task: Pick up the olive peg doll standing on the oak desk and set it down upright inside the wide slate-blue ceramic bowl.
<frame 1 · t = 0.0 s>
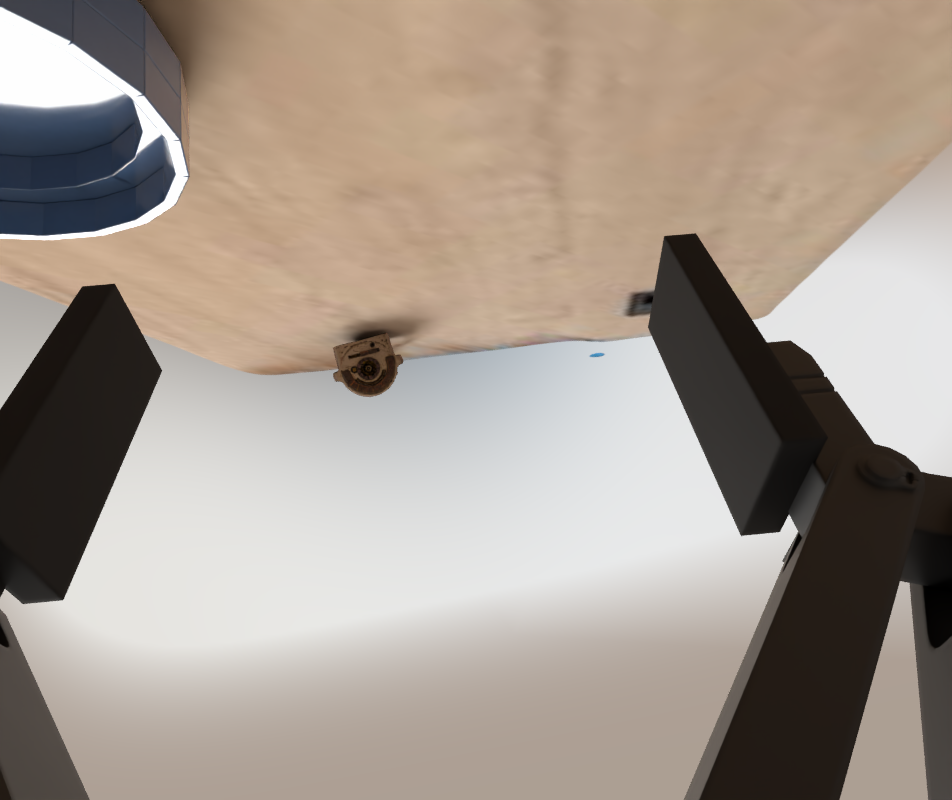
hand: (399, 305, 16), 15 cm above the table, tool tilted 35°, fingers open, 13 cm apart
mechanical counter: (362, 343, 75), on the table
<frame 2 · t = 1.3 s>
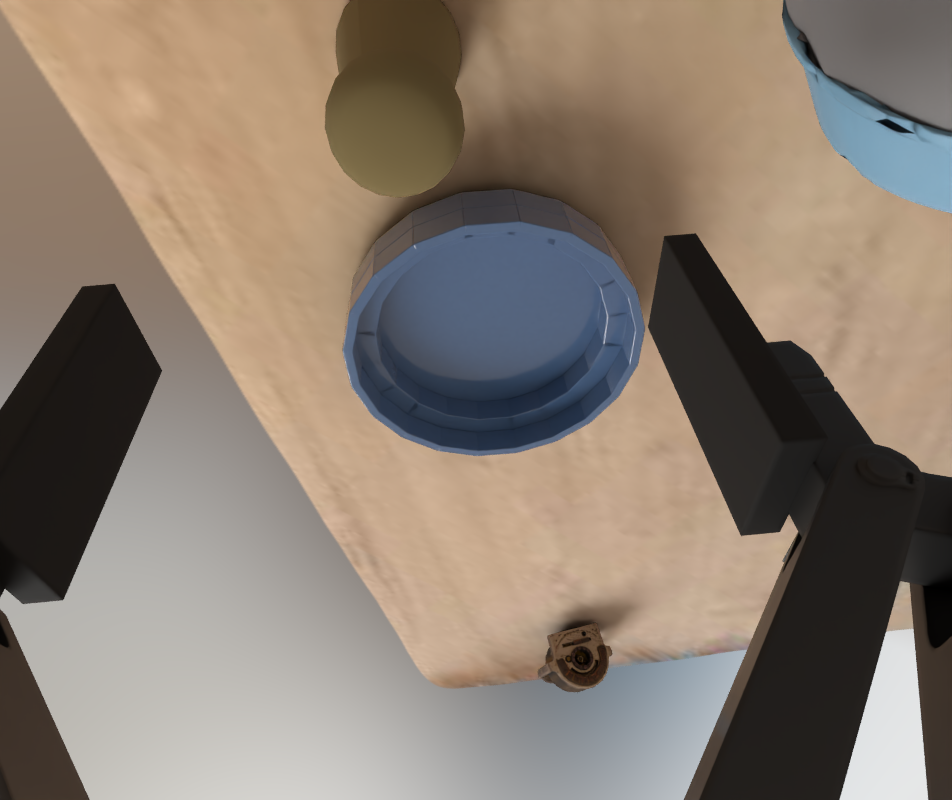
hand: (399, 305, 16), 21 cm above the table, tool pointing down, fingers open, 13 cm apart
olive peg doll: (399, 51, 30), on the table
bowl: (488, 314, 41), on the table
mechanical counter: (561, 640, 77), on the table
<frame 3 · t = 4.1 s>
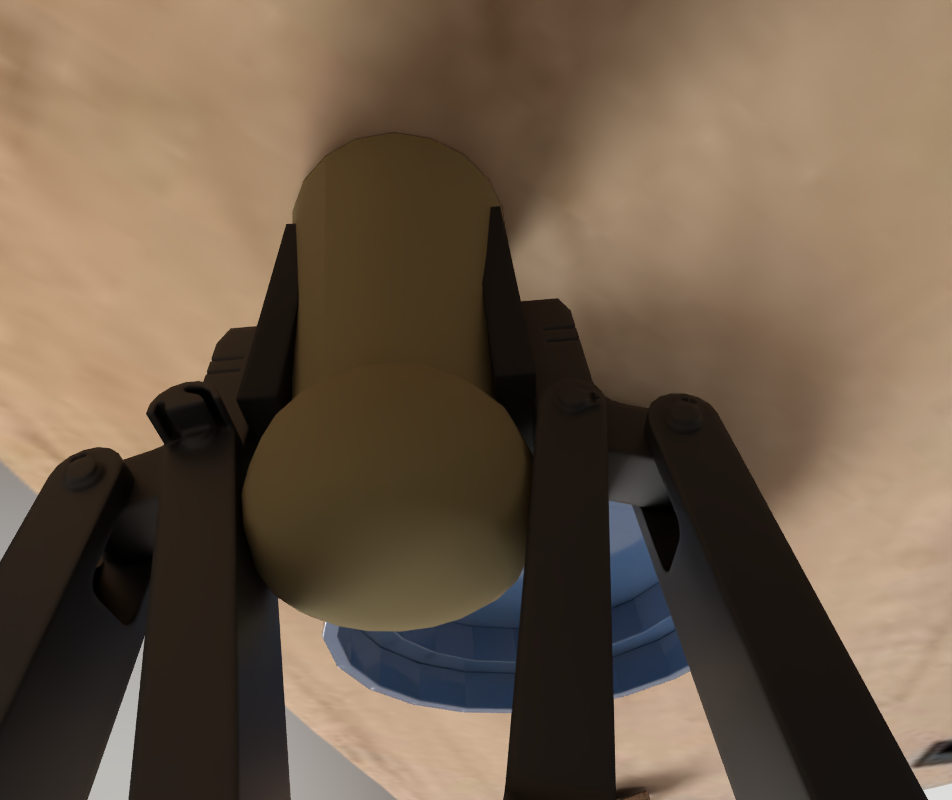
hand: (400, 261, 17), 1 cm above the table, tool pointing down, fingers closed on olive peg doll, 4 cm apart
olive peg doll: (401, 236, 18), on the table, touching gripper
bowl: (533, 538, 29), on the table
when the fingers open (2 cm above the table, at t = 9.8 s): olive peg doll stays where it is, resting on bowl.
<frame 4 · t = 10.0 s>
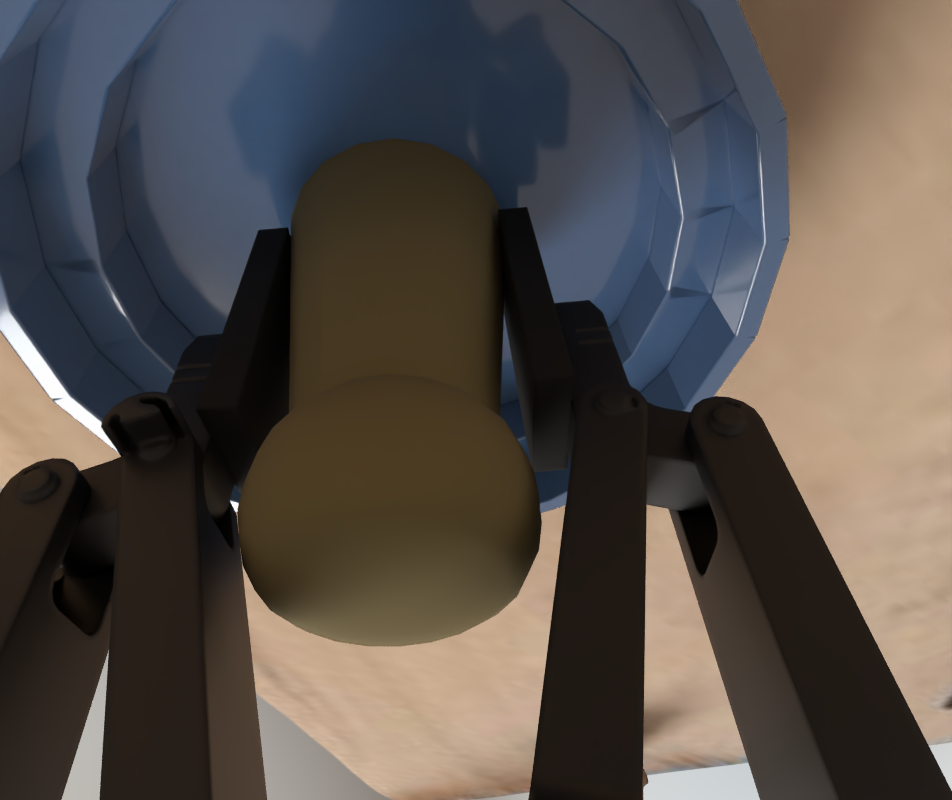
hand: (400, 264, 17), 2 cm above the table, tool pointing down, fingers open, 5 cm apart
olive peg doll: (400, 242, 18), point 1 cm above the table, touching bowl
bowl: (401, 230, 18), on the table
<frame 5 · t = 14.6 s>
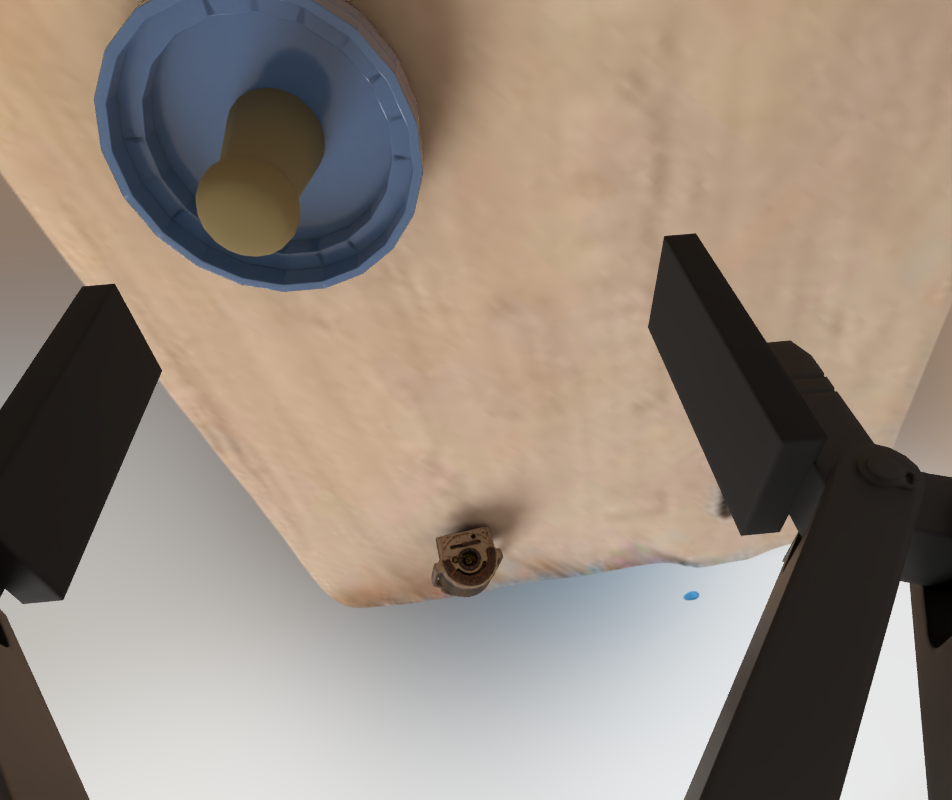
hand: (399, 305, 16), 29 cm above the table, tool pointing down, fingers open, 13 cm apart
olive peg doll: (276, 136, 40), point 1 cm above the table, touching bowl
bowl: (278, 132, 40), on the table
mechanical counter: (459, 549, 76), on the table
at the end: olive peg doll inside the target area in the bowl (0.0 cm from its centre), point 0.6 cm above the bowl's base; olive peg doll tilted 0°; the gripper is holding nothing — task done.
